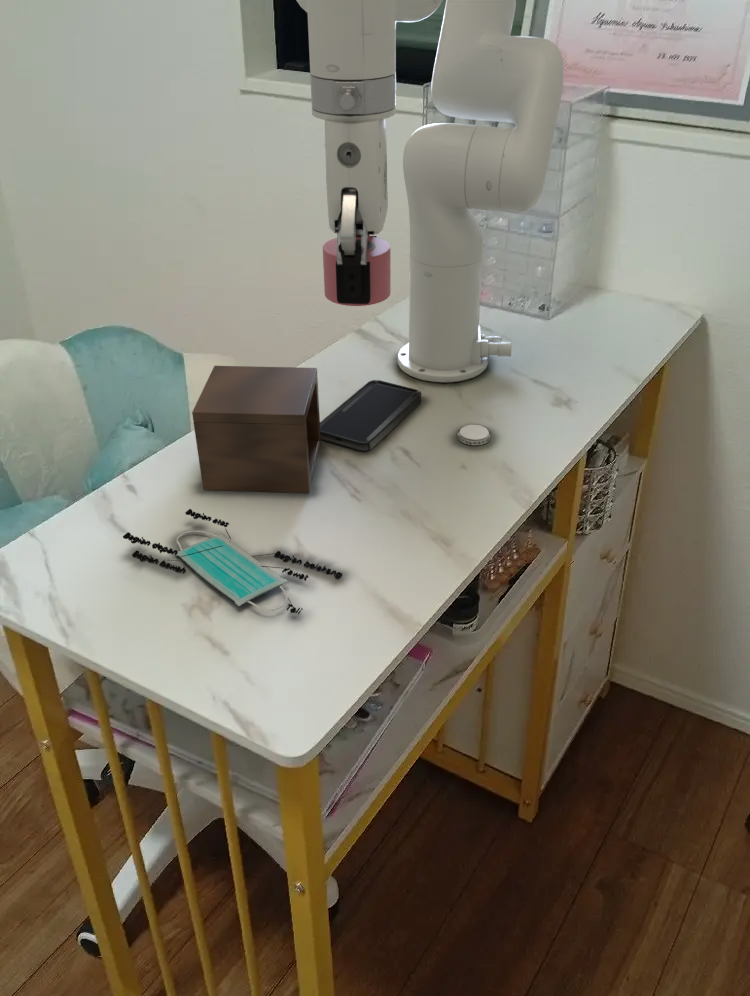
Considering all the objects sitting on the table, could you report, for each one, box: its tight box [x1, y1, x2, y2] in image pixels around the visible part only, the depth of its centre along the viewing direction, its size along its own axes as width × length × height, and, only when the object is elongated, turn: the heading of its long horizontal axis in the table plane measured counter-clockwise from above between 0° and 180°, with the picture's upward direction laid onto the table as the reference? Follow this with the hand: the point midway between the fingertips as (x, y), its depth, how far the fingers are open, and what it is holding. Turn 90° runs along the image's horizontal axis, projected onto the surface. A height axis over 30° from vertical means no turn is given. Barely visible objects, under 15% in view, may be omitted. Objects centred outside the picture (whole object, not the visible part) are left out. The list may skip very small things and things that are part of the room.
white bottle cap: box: [456, 423, 492, 446], centre depth 110 cm, size 4×4×1 cm
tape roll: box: [322, 235, 391, 307], centre depth 89 cm, size 7×7×5 cm
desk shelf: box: [191, 365, 322, 494], centre depth 103 cm, size 12×11×10 cm
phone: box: [320, 379, 422, 452], centre depth 114 cm, size 8×1×15 cm
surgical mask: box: [122, 508, 343, 616], centre depth 89 cm, size 21×4×10 cm
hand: (357, 286), depth 90 cm, fingers closed on tape roll, 6 cm apart
